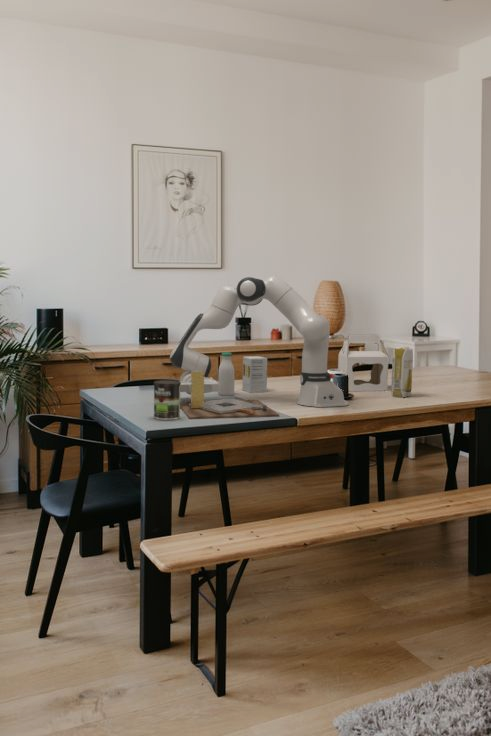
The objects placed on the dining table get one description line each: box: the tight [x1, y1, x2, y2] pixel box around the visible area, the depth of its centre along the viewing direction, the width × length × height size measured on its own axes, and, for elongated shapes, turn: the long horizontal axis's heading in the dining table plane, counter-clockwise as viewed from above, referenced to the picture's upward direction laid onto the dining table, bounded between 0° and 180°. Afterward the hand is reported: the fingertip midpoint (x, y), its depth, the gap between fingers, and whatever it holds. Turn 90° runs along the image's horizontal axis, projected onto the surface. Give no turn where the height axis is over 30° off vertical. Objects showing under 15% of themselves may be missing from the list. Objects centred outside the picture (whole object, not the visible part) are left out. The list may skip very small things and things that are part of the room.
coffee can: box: [153, 379, 181, 421], centre depth 268 cm, size 10×10×14 cm
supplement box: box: [242, 355, 268, 394], centre depth 339 cm, size 10×9×17 cm
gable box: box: [337, 333, 389, 393], centre depth 350 cm, size 22×13×28 cm, turn 102°
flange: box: [189, 371, 263, 414], centre depth 283 cm, size 25×29×15 cm
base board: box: [180, 399, 280, 420], centre depth 288 cm, size 36×36×3 cm
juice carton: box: [390, 345, 414, 398], centre depth 329 cm, size 9×8×24 cm
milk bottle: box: [217, 351, 235, 397], centre depth 326 cm, size 8×8×20 cm
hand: (197, 389), depth 285 cm, fingers closed, pressing on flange
